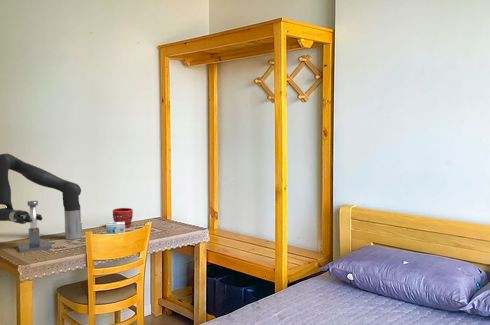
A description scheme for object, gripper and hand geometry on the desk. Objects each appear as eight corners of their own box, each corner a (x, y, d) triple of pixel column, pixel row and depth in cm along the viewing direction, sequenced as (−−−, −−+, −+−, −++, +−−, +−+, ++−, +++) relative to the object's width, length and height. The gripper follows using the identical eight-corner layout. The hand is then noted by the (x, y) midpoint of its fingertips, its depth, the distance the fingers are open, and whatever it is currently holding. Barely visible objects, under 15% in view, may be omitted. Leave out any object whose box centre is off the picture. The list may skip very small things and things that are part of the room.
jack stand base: (47, 242, 270) (47, 224, 269) (51, 248, 256) (51, 229, 255) (17, 246, 262) (16, 228, 261) (20, 252, 248) (19, 233, 247)
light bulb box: (106, 243, 267) (105, 224, 267) (106, 240, 274) (106, 222, 273) (125, 241, 270) (124, 223, 270) (125, 239, 277) (124, 221, 276)
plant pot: (109, 228, 308) (108, 210, 307) (120, 224, 321) (119, 207, 320) (126, 229, 304) (126, 211, 303) (136, 225, 317) (136, 208, 316)
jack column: (38, 242, 262) (37, 200, 261) (40, 244, 258) (38, 201, 256) (28, 243, 260) (27, 201, 258) (29, 245, 255) (27, 202, 254)
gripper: (6, 212, 260) (23, 214, 250) (30, 208, 272) (47, 210, 262) (7, 225, 260) (23, 228, 251) (31, 221, 272) (47, 224, 263)
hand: (35, 219), depth 257 cm, fingers open, 6 cm apart
